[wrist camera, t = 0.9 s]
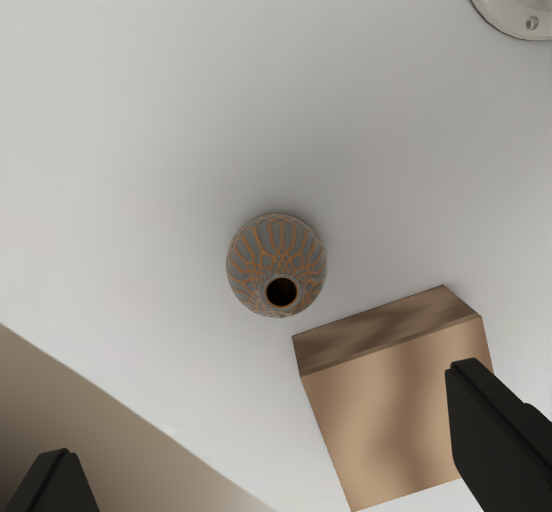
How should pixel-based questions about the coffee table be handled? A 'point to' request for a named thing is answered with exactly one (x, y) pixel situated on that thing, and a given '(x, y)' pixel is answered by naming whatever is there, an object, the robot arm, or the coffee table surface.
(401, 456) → the walnut box
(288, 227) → the vase
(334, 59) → the coffee table surface
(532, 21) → the robot arm
